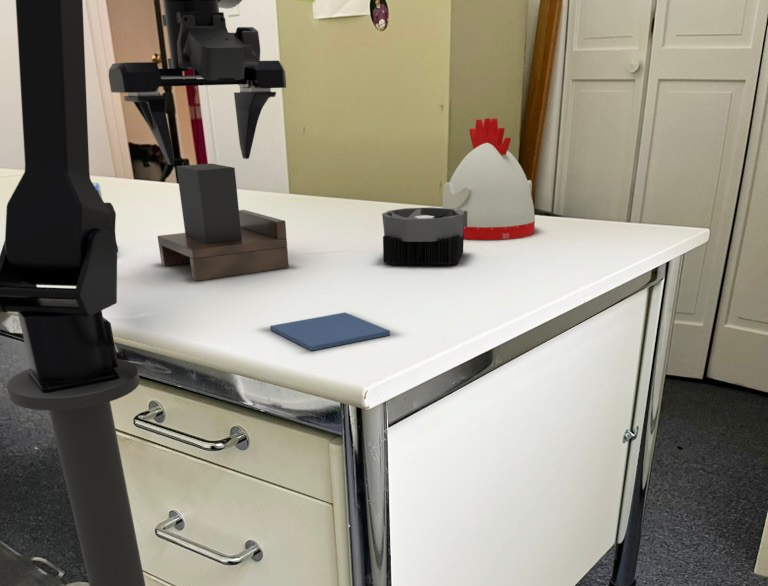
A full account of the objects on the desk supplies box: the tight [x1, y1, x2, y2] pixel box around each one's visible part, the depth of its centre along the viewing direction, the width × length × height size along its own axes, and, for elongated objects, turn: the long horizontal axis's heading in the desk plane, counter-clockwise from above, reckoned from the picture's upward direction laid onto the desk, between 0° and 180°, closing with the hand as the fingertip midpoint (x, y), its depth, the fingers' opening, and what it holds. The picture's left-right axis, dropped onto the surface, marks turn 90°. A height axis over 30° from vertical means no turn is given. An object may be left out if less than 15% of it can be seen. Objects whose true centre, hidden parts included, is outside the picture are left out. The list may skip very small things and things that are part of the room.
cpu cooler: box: [381, 206, 467, 266], centre depth 100 cm, size 10×6×10 cm
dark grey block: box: [176, 163, 242, 244], centre depth 96 cm, size 4×7×8 cm, turn 33°
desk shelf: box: [157, 209, 290, 282], centre depth 99 cm, size 12×12×6 cm
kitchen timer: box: [441, 117, 536, 241], centre depth 115 cm, size 14×14×15 cm
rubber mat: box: [269, 312, 391, 352], centre depth 73 cm, size 8×8×1 cm
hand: (209, 161), depth 93 cm, fingers open, 9 cm apart
